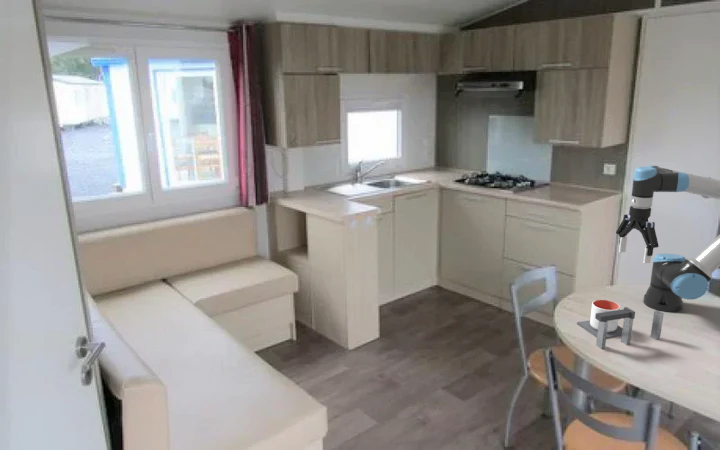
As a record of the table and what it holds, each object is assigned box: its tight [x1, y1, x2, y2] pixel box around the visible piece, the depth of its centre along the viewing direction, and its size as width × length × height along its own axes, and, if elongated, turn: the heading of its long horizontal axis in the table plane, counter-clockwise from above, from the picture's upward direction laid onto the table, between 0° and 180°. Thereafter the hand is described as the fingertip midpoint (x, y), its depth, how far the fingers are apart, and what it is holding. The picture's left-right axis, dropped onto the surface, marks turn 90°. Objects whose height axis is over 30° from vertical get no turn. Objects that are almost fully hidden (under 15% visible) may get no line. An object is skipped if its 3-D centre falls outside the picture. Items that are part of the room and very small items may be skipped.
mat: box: [576, 319, 623, 339], centre depth 211 cm, size 14×14×1 cm
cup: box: [589, 299, 621, 332], centre depth 209 cm, size 10×10×10 cm
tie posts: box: [595, 309, 664, 350], centre depth 198 cm, size 26×3×11 cm, turn 104°
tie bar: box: [595, 306, 636, 322], centre depth 195 cm, size 14×4×3 cm, turn 104°
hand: (633, 257), depth 212 cm, fingers open, 13 cm apart
